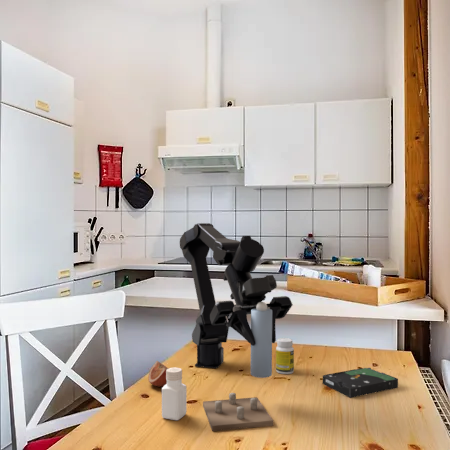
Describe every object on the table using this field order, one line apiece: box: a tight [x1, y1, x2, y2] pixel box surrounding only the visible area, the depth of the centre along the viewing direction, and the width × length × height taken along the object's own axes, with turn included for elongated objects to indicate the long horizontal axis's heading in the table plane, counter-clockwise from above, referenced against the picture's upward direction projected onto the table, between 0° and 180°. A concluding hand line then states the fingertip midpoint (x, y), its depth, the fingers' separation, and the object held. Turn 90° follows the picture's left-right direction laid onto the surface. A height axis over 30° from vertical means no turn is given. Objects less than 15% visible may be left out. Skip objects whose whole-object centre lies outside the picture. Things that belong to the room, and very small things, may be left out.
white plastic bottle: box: [161, 366, 187, 421], centre depth 93 cm, size 4×4×10 cm
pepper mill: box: [250, 301, 273, 379], centre depth 99 cm, size 5×5×16 cm
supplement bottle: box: [275, 337, 295, 375], centre depth 121 cm, size 5×5×8 cm
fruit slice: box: [147, 360, 170, 388], centre depth 111 cm, size 8×7×5 cm
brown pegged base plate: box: [202, 392, 274, 432], centre depth 93 cm, size 12×12×3 cm
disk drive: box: [322, 367, 399, 399], centre depth 110 cm, size 10×3×15 cm
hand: (264, 343), depth 98 cm, fingers closed on pepper mill, 5 cm apart
